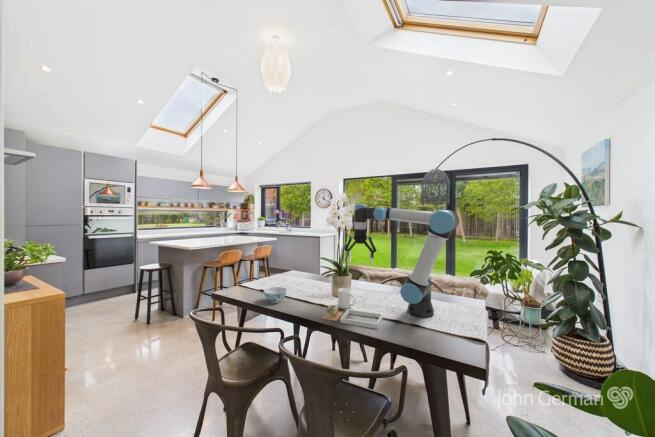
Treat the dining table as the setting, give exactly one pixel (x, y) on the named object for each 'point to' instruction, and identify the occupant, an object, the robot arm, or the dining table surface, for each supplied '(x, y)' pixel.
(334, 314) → the beige round lump
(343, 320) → the bin
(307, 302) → the dining table surface
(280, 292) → the chinaware
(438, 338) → the dining table surface
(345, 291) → the mug
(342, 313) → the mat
